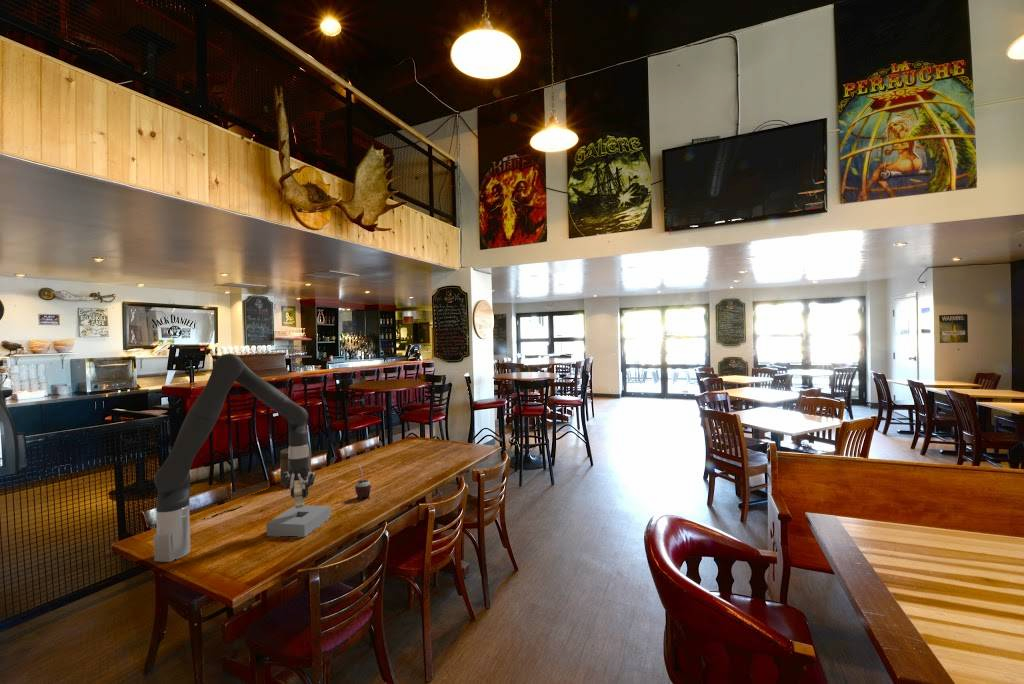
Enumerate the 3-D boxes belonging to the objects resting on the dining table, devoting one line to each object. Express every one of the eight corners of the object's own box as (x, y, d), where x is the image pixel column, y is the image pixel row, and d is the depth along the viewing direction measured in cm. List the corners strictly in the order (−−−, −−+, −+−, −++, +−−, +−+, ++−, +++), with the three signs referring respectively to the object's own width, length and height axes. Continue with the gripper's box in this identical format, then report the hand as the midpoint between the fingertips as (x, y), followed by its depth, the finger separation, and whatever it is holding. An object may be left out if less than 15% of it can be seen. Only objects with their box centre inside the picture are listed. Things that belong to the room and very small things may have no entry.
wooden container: (296, 477, 234) (295, 438, 234) (317, 480, 230) (317, 440, 229) (273, 486, 220) (273, 444, 220) (296, 489, 215) (295, 446, 215)
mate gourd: (366, 501, 198) (365, 469, 198) (350, 500, 199) (350, 469, 199) (374, 495, 205) (373, 464, 205) (359, 494, 207) (358, 464, 207)
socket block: (304, 537, 162) (304, 524, 162) (266, 535, 164) (266, 523, 164) (330, 517, 180) (330, 506, 180) (295, 516, 182) (295, 505, 182)
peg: (301, 508, 170) (300, 481, 169) (291, 508, 170) (291, 481, 170) (307, 504, 174) (307, 477, 174) (298, 504, 174) (297, 477, 174)
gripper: (276, 457, 169) (277, 500, 169) (309, 458, 167) (310, 501, 167) (288, 452, 176) (289, 493, 176) (320, 453, 175) (321, 494, 175)
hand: (299, 497), depth 172 cm, fingers closed on peg, 4 cm apart
